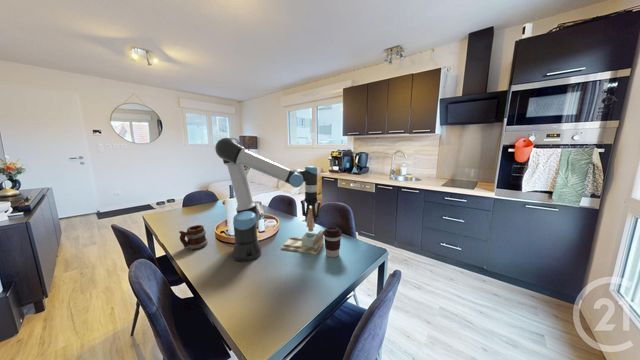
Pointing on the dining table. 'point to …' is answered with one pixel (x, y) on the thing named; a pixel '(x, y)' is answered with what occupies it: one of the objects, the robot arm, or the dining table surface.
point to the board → (296, 245)
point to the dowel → (310, 219)
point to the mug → (194, 237)
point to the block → (308, 240)
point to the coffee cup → (332, 241)
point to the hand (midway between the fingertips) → (310, 226)
